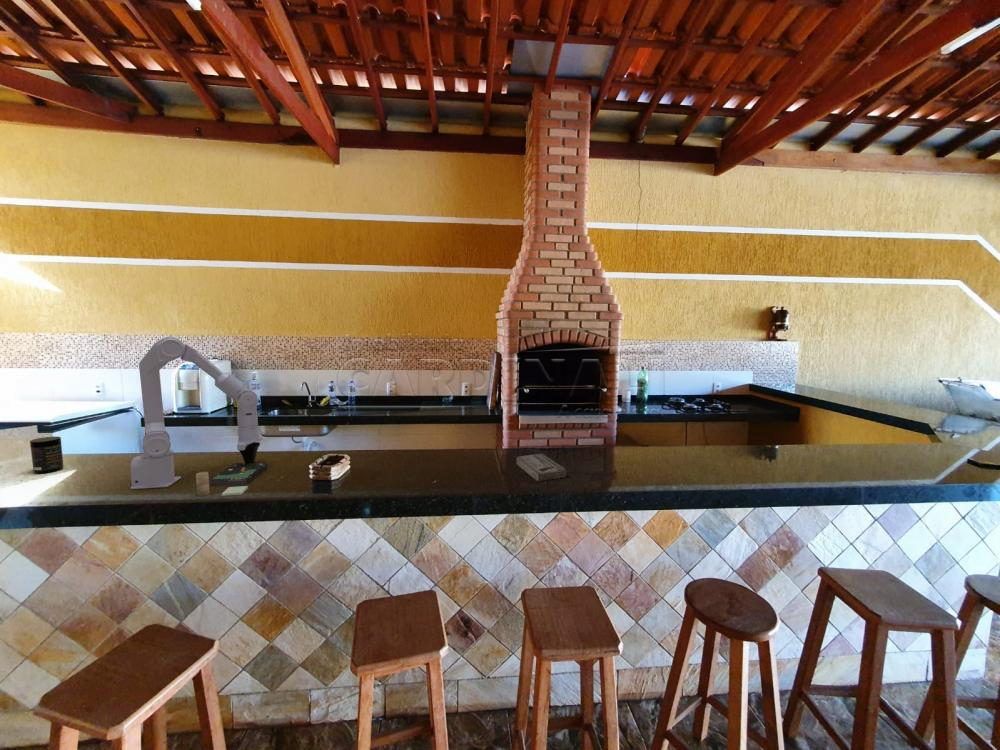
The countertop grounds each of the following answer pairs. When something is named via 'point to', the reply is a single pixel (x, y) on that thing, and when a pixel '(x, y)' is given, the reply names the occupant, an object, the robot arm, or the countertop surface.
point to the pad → (235, 490)
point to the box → (541, 467)
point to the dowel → (202, 483)
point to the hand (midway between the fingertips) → (250, 465)
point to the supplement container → (46, 455)
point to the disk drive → (238, 474)
